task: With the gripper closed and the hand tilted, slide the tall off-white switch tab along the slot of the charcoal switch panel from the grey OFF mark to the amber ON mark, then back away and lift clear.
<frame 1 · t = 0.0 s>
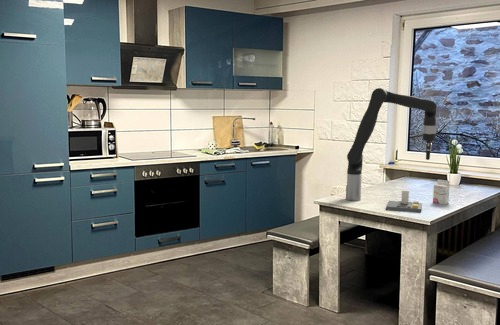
hand: (427, 158, 313), 29 cm above the table, tool pointing down, fingers open, 8 cm apart
switch panel: (404, 207, 308), on the table
switch tab: (405, 196, 311), point 6 cm above the table, slide at 0.0 cm
ink cartridge box: (440, 203, 323), on the table
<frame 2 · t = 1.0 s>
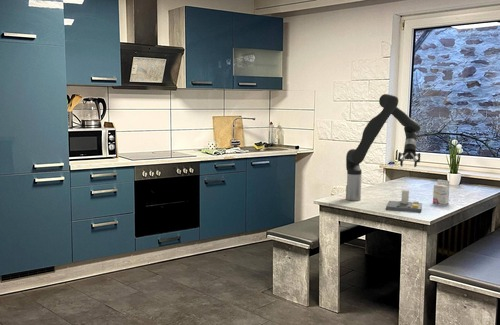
hand: (408, 166, 327), 23 cm above the table, tool tilted 45°, fingers open, 7 cm apart
nothing on the table moved.
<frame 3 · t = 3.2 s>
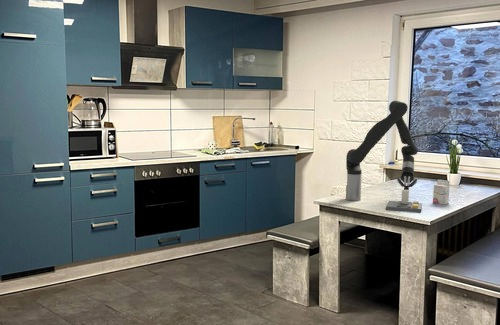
hand: (406, 191, 320), 8 cm above the table, tool tilted 45°, fingers closed
nothing on the table moved.
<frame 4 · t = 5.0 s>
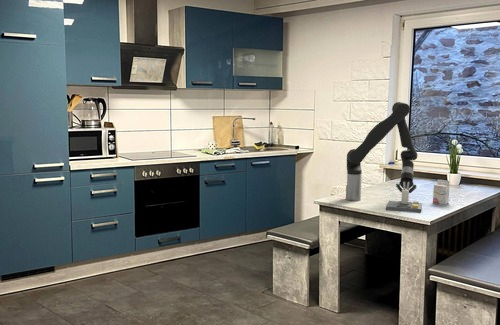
hand: (405, 197, 313), 5 cm above the table, tool tilted 45°, fingers closed
switch tab: (405, 196, 310), point 6 cm above the table, slide at 0.7 cm, touching gripper
everything else where it was.
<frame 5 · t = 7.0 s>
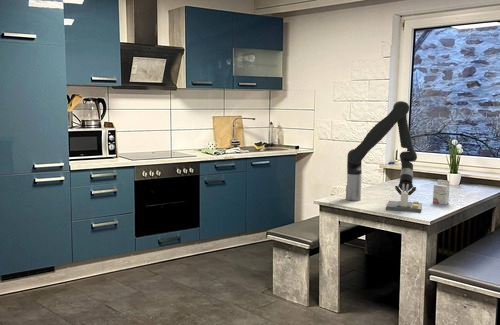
hand: (404, 200, 305), 5 cm above the table, tool tilted 45°, fingers closed
switch tab: (404, 199, 303), point 6 cm above the table, slide at 9.1 cm, touching gripper
everything else where it was.
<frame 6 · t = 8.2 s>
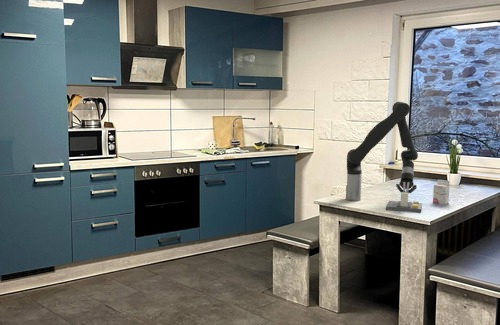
hand: (405, 197, 312), 5 cm above the table, tool tilted 45°, fingers closed
switch tab: (404, 199, 303), point 6 cm above the table, slide at 9.0 cm
everything else where it was.
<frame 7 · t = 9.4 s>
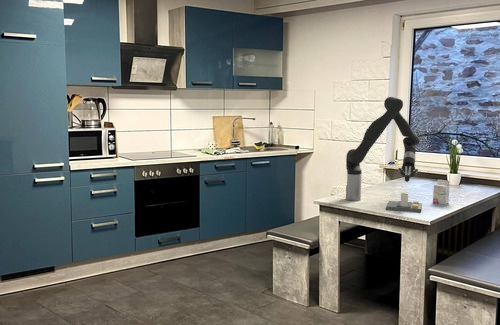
hand: (407, 181, 322), 14 cm above the table, tool tilted 45°, fingers closed
nothing on the table moved.
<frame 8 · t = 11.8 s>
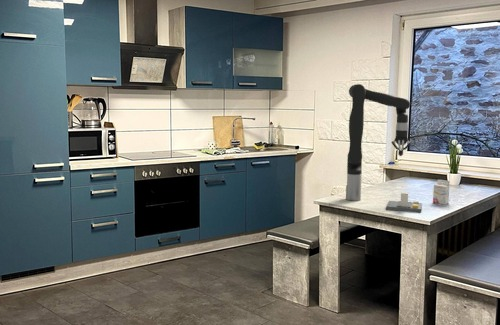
hand: (400, 155, 330), 29 cm above the table, tool pointing down, fingers closed
nothing on the table moved.
at the end: switch tab slide at 9.0 cm; ink cartridge box moved 0.2 cm from its start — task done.
